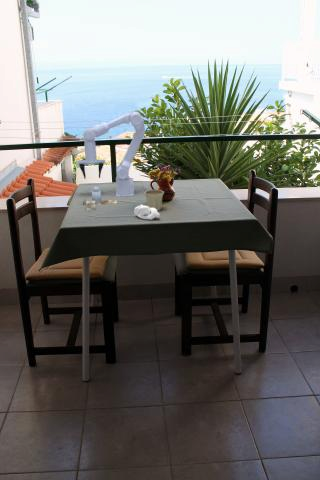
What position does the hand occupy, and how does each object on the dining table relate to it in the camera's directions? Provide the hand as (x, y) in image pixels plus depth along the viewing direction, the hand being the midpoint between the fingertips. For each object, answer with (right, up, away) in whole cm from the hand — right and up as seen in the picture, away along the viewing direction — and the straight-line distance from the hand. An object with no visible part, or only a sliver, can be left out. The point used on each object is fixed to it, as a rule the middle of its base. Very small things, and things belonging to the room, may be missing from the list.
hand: (92, 177), depth 263 cm
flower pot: (+33, -18, -22) cm, 44 cm away
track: (+5, -14, -10) cm, 18 cm away
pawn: (+4, -14, -10) cm, 18 cm away
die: (+2, -18, -20) cm, 27 cm away
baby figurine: (+30, -23, -33) cm, 50 cm away
